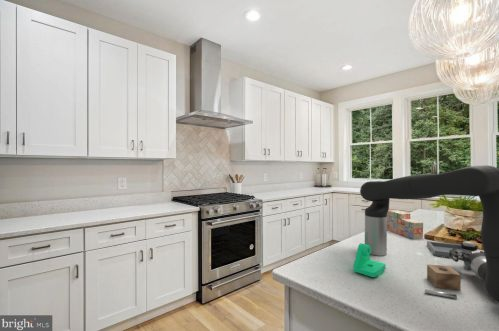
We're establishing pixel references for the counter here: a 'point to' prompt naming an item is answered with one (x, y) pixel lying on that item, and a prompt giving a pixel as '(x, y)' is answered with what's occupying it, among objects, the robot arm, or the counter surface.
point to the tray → (443, 248)
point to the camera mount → (367, 262)
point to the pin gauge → (441, 294)
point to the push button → (468, 249)
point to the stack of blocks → (404, 224)
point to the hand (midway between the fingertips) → (467, 251)
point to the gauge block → (443, 277)
